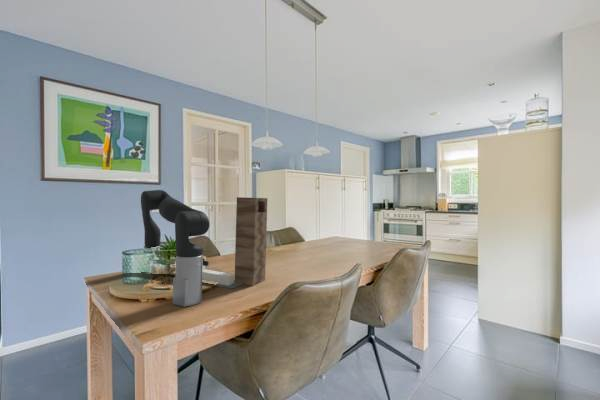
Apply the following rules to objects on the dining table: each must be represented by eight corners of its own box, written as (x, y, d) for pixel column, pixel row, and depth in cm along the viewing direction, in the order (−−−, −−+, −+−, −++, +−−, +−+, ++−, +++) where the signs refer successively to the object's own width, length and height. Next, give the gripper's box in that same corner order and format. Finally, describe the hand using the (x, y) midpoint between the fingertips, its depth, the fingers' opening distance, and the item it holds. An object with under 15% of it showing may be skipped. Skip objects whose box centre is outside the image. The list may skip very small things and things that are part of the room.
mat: (232, 288, 117) (232, 287, 117) (187, 280, 127) (187, 279, 127) (242, 284, 124) (242, 283, 124) (198, 276, 134) (198, 275, 134)
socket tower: (253, 285, 122) (255, 198, 122) (234, 282, 126) (236, 197, 126) (265, 280, 131) (267, 198, 131) (247, 277, 135) (249, 197, 135)
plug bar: (228, 285, 120) (228, 276, 120) (189, 278, 129) (189, 269, 129) (233, 283, 124) (234, 274, 124) (195, 276, 133) (196, 267, 133)
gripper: (163, 256, 129) (189, 260, 122) (187, 251, 142) (212, 254, 135) (163, 272, 129) (189, 277, 122) (186, 265, 142) (211, 270, 135)
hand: (201, 265), depth 129 cm, fingers open, 8 cm apart
